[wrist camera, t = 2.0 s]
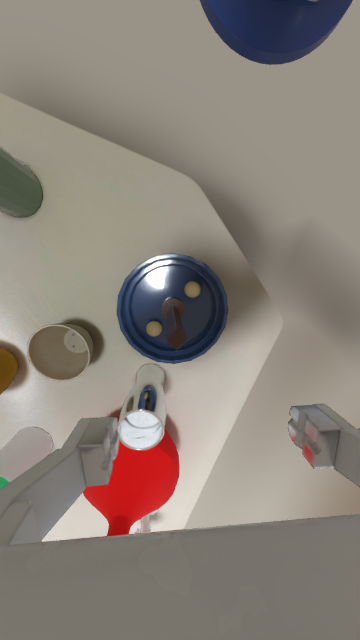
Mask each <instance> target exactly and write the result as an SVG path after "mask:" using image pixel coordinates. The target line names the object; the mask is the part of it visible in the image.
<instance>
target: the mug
mask: <svg viewBox="0 0 360 640" xmlns="http://www.w3.org/2000/svg"><path fill="white" fill-rule="evenodd" d="M52 447H53V441H52V438H51V436H50V435H49V434H48V433H47V432H46V431H44V430H43V429H40V428H37V427H28V428H24V429H22V430H21V431H19V432H18V433H17V434H16V435H15V436H14V437H13V439H12V440H11V441H10V442H9V443H8V444H7V445H6V446H5V447H4V448H3V449H2V450H1V451H0V489H1V488H3V487H4V486H6V485H7V484H8V483H10V482H11V481H13V480H14V479H16V478H17V477H18V476H20V475H21V474H23V473H24V472H26V471H27V470H28V469H30V468H31V467H33V466H34V465H35V464H37V463H38V462H40V461H41V460H43V459H44V458H45V457H47V455H48V454H49V453H50V451H51V450H52Z"/></svg>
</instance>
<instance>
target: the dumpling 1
mask: <svg viewBox="0 0 360 640" xmlns="http://www.w3.org/2000/svg"><path fill="white" fill-rule="evenodd" d="M146 331H147V333H148V334H149V335H150V336H154V337H155V336H158V335H159V334H160V333H161V331H162V326H161V324H160V323H159V322H157V321H151V322H149V323H148V324H147V327H146Z"/></svg>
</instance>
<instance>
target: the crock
mask: <svg viewBox="0 0 360 640" xmlns="http://www.w3.org/2000/svg"><path fill="white" fill-rule="evenodd" d="M41 202H42V188H41V185H40V183H39V181H38V179H37V177H36V176H35V175H34V174H33V172H32V171H30V170H29V169H28V168H27V167H26V166H25V165H23V164H22V163H21V162H20V161H18V160H17V159H16V158H15V157H13V156H12V155H11V154H9V153H8V152H7V151H6V150H4V149H3V148H2V147H1V146H0V211H3V212H5V213H8V214H10V215H13V216H16V217H27V216H30V215H32V214H34V213H35V212H36V211H37V210H38V208H39V207H40V205H41Z"/></svg>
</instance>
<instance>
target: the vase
mask: <svg viewBox="0 0 360 640" xmlns="http://www.w3.org/2000/svg"><path fill="white" fill-rule="evenodd" d="M118 422H119V420H117V423H118ZM116 431H117V428H116ZM178 478H179V455H178V452H177V449H176V446H175V444H174V442H173V440H172V439H171V437H170V435H169V434H168V432H167V431H166V429H165V428H164V435H163V438H162V439H161V441H160V442H159V443H158V444H157V445H156V446H154V447H153V448H150V449H147V450H133V449H130V448H128V447H126V446H125V445H124V444H122V443H121V441H120V440H119V448H118V453H117V457H116V459H115V460H114V461H113V470H112V474H111V477H110V480H109V483H108V485H99V486H90V487H86V489H85V490H84V491H83V494H84V496H85V497H86V499H87V500H88V501H89V502H90V503H91V504H92V505H93V506H94V507H95V508H96V509H97V510H98V511H100V512H101V513H102V514H103V515H104V517H105V518H106V519H107V520H108V523H109V530H108V534H107V536H115V535H126V534H129V530H130V527H131V526H132V525H133V523H134V522H136V521H137V520H139V519H141V518H142V517H144V516H145V515H147V514H149V513H151V512H153V511H155V510H157V509H159V508H160V507H161V506H162V505H164V504H165V503H166V502H167V501H168V500H169V498H170V497H171V496H172V494H173V493H174V490H175V487H176V484H177V481H178Z"/></svg>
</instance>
